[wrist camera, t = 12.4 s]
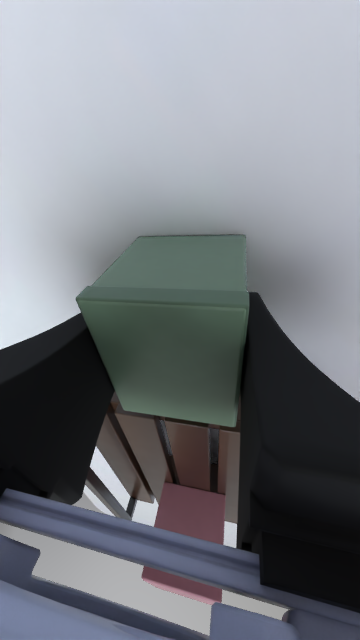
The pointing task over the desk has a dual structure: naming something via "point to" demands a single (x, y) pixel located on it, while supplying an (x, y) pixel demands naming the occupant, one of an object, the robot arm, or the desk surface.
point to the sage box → (173, 325)
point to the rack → (165, 458)
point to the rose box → (192, 520)
